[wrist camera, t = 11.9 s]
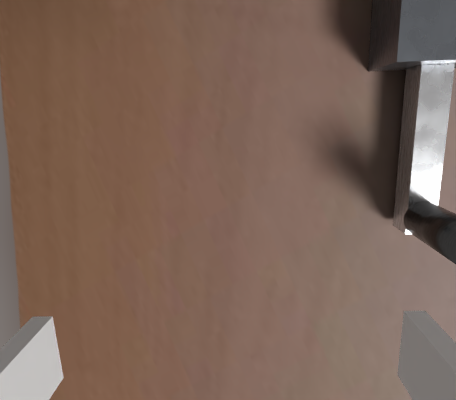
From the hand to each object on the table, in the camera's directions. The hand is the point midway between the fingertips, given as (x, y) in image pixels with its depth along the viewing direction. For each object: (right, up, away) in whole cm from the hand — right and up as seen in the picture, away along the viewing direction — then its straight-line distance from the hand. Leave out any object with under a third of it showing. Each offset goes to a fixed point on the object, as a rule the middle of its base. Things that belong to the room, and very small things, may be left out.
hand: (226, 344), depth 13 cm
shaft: (+24, +15, +30) cm, 41 cm away
